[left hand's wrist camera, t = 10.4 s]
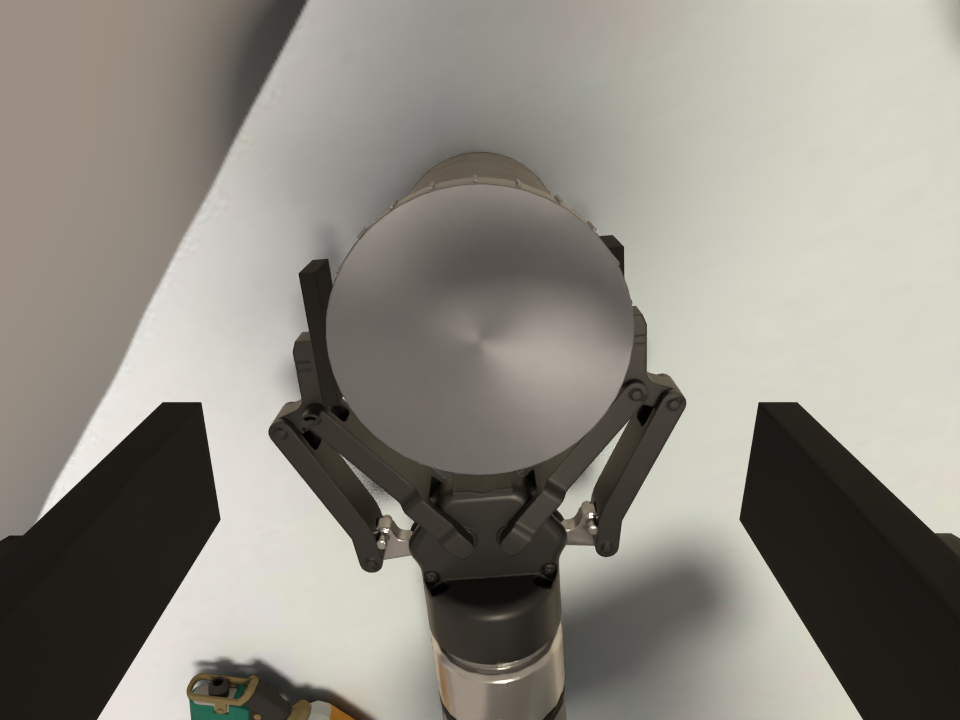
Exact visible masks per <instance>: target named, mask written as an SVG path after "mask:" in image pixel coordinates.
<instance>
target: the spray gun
mask: <svg viewBox="0 0 960 720" xmlns="http://www.w3.org/2000/svg"><path fill="white" fill-rule="evenodd" d="M200 680H210V681H211V682H210V683H209V684H202V685H200V686H198V687H196V688H195V689H193V687H194V685H195V684H196V683H197V682H198V681H200ZM258 681H259V679H258V678H257V677H256V676H254V675H252V676H250V677H249V678H248V679H246V678H238V677H230V676H222V675H214V674H206V673H202V674H198V675H196V676H194V677H193V678H192V680H191V681H190V683H189V685H188V687H187V696H188V698H189V701H190V712H191V720H355V719H353V718H352V717H350V716H349V715H347V714H345V713H344V712H342V711H341V710H339V709H338V708H336V707H335V706H333V705H331V704H330V703H326V702H322V701H318V700H317V701H315V702H312V703H309V702H307V701H306V700H300V701H298V702H297V703H296V704H295V705H293V706H291V705H290V704H289V703H288V702H287V701H286V700H285V699H283V698H282V697H281V696H279V695H278V694H277V693H275V692H274V691H273V690H271V689H270V688H269V687H267V686H266V685H265V684H263V683H262V682H261V681H259V682H258ZM236 684H243V685H248V686H247V687H246V688H245V687H244V686H243V685H239V686H238V688H236ZM192 689H193V690H192Z"/></svg>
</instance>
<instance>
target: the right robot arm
mask: <svg viewBox="0 0 960 720" xmlns="http://www.w3.org/2000/svg"><path fill="white" fill-rule="evenodd" d="M599 237H600V238H601V240H602V241H603V242H604V244H605V245H606V246H607V247H608V249H609V250H610V251H611V253H612V254H613V255H614V257H615V258H616V259H617V260H618V261H619V263H620V265H619V267H620V269H621V271H622V274H623V277H624V246H623V245H622V244H621V243H620V242H619V241H618V240H617V239H616V238H615V237H614V236H613V235H609V236H599ZM299 279H300V284H301V290H302V295H303V300H304V306H305V311H306V317H307V322H308V327H309V332H302V333H301V335H300V336H299V337H298V339H297V340H296V341H295V344H294V348H293V356H294V361H295V366H296V370H297V377H298V382H299V387H300V392H301V398H302V399H301V400H299V401H297V402H288V403H286V404H285V405H284V406H283V407H282V409H281V411H280V412H279V414H278V415H277V417H276V418H275V420H274V421H273V423H272V424H271V426H270V428H269V436H270V438H271V440H272V441H273V442H274V443H275V445H276V446H277V447H278V448H279V450H280V451H281V452H282V453H283V455H284V456H285V457H286V458H287V460H288V461H289V462H290V463H291V464H292V466H293V467H294V468H295V469H296V471H297V472H298V473H299V474H300V476H301V477H302V478H303V479H304V481H305V482H306V483H307V484H308V486H309V487H310V488H311V489H312V490H313V492H314V493H315V494H316V495H317V497H318V498H319V499H320V500H321V502H322V503H323V504H324V505H325V507H326V508H327V509H328V510H329V512H330V513H331V514H332V515H333V516H334V518H335V519H336V520H337V521H338V523H339V524H340V525H341V526H342V528H343V529H344V530H345V531H346V533H347V534H348V535H349V536H350V538H351V539H352V541H353V544H354V547H355V550H356V554H357V557H358V560H359V563H360V566H361V567H362V569H363V570H365V571H367V572H377V571H379V570H380V569H381V567H382V565H383V560H386V559H392V558H398V557H404V556H410V555H412V557H413V558H414V559H415V560H416V561H417V563H418V564H419V566H420V568H421V570H422V575H423V582H424V589H425V596H426V604H427V611H428V618H429V625H430V629H431V632H432V638H431V641H432V647H433V654H434V660H435V667H436V673H437V680H438V686H439V694H440V699H441V704H442V711H443V720H566V708H565V696H564V690H565V687H564V681H565V669H564V651H563V634H562V624H561V595H560V575H559V557H560V554H561V552H562V550H563V549H564V547H565V545H589V546H595V549H596V552H597V553H598V554H599V555H600V556H603V557H610V556H612V555H614V554H615V553H616V552H617V551H618V548H619V540H620V532H621V524H622V520H623V518H624V516H625V514H626V513H627V511H628V509H629V507H630V505H631V504H632V502H633V500H634V498H635V497H636V495H637V493H638V491H639V489H640V488H641V486H642V484H643V482H644V480H645V479H646V477H647V475H648V473H649V472H650V470H651V468H652V466H653V464H654V463H655V461H656V459H657V457H658V455H659V454H660V452H661V450H662V448H663V447H664V445H665V443H666V441H667V439H668V438H669V436H670V434H671V432H672V430H673V429H674V427H675V425H676V423H677V422H678V420H679V418H680V416H681V414H682V413H683V411H684V409H685V406H686V399H685V397H684V396H683V394H682V393H681V391H680V390H679V388H678V387H677V386H676V384H675V383H674V381H673V380H672V378H671V377H670V376H669V375H667V374H657V375H656V374H652V373H649V372H647V345H646V344H647V324H646V321H645V319H644V317H643V315H642V313H641V312H640V311H639V309H638V308H637V307H636V306H632V308H633V319H634V340H633V349H632V354H631V360H630V364H629V367H628V371H627V374H626V377H625V380H624V382H623V384H622V386H621V388H620V390H619V393H618V395H617V397H616V399H615V400H614V402H613V403H612V405H611V406H610V408H609V409H608V411H607V412H606V414H605V415H604V416H603V417H602V418H601V420H600V421H599V422H598V423H597V424H596V426H595V427H594V428H593V429H592V430H591V431H590V432H588V433H587V434H586V435H585V436H584V437H583V438H582V439H581V440H580V441H578V442H577V443H575V444H574V445H573V446H571V447H570V448H568V449H567V450H565V451H564V452H562V453H560V454H558V455H557V456H555V457H553V458H551V459H549V460H547V461H544V462H542V463H539V464H537V465H534V466H532V467H529V468H528V469H527V470H526V471H525V472H524V474H523V475H521V474H518V473H515V472H512V473H511V472H508V473H501V474H492V475H469V474H457V473H453V476H452V477H450V478H447V479H446V480H444V479H443V478H441V477H440V476H439V475H438V474H437V473H436V472H434V471H433V470H432V469H431V468H430V467H428V466H426V465H421V464H419V463H418V462H416V461H413V460H411V459H409V458H407V457H405V456H403V455H401V454H400V453H398V452H396V451H395V450H393V449H392V448H390V447H388V446H387V445H386V444H385V443H383V442H382V441H381V440H380V439H378V438H377V437H376V436H374V435H373V434H372V433H371V432H370V431H369V430H368V428H367V427H366V426H365V425H364V424H363V423H362V422H361V421H360V420H359V419H358V417H357V416H356V415H355V413H354V412H353V411H352V410H351V408H350V407H349V405H348V403H347V402H346V401H345V400H343V399H342V397H343V395H342V393H341V391H340V389H339V386H338V384H337V382H336V379H335V377H334V375H333V371H332V367H331V364H330V360H329V356H328V349H327V341H326V316H327V309H328V303H329V298H330V294H331V291H332V288H333V285H332V279H331V273H330V267H329V261H328V259H320V260H312V261H311V262H310V263H309V264H308V265H307V266H306V267H305V268H304V269H303V270H302V271H301V272H300V273H299ZM628 421H629V422H628ZM627 422H628V424H627V426H626V428H625V430H624V432H623V433H622V435H621V437H620V439H619V441H618V443H617V445H616V447H615V448H614V450H613V452H612V454H611V456H610V458H609V460H608V462H607V464H606V465H605V467H604V469H603V471H602V473H601V475H600V477H599V479H598V480H597V483H596V485H595V487H594V490H593V493H592V497H591V502H590V501H585V502H583V503H582V505H581V507H580V508H579V510H578V512H577V514H576V515H575V517H573V518H571V519H567V520H564V518H563V516H562V515H561V514H560V512H559V511H558V510H557V508H558V507H559V506H560V505H561V503H562V502H563V500H564V497H565V494H566V492H567V490H568V489H569V488H570V487H571V485H572V484H573V483H574V482H575V481H576V480H577V479H578V478H579V476H580V475H581V474H582V473H583V472H584V471H585V470H586V468H587V467H588V466H589V465H590V464H591V463H592V462H593V460H594V459H595V458H596V457H597V456H598V455H599V454H600V453H601V451H602V450H603V449H604V448H605V447H606V446H607V445H608V443H609V442H610V441H611V440H612V439H613V438H614V437H615V435H616V434H617V433H618V432H619V431H620V430H621V429H622V428H623V426H624V425H625V424H626V423H627ZM339 453H340V454H341V455H342V456H343V457H344V458H346V459H347V460H348V461H349V462H351V463H352V464H353V465H354V466H355V467H357V468H358V469H359V470H360V471H361V472H363V473H364V474H365V475H366V476H368V477H369V478H370V479H371V480H372V481H374V482H375V483H376V484H377V485H379V486H380V487H381V488H382V489H383V490H385V491H386V492H387V493H388V494H390V495H391V496H392V497H393V498H394V499H396V500H397V501H398V502H399V503H400V504H401V507H402V509H403V511H404V512H405V514H406V515H407V516H408V517H410V518H411V519H412V520H413V521H415V522H414V524H413V525H412V527H411V530H402V529H400V528H399V527H398V526H397V525H396V524H395V522H394V521H393V520H392V517H391V516H390V515H384V516H382V513H381V510H380V508H379V506H378V504H377V503H376V501H375V500H374V498H373V497H372V495H371V494H370V493H369V492H368V490H367V489H366V488H365V486H364V485H363V484H362V483H361V481H360V480H359V479H358V477H357V476H356V475H355V474H354V472H353V471H352V470H351V468H350V467H349V466H348V464H347V463H346V462H345V461H344V459H343V458H342V457H341V455H340V454H339Z"/></svg>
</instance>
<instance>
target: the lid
mask: <svg viewBox="0 0 960 720" xmlns="http://www.w3.org/2000/svg"><path fill="white" fill-rule="evenodd" d="M596 230H597V229H596V228H595V227H594V226H593V225H592V224H591V223H590V221H587V223H586V222H585V221H584V220H583V219H582V218H581V217H580V216H579V215H578V214H577V213H576V212H575V211H574V210H572V209H571V208H570V207H568V206H567V205H566V204H564V203H563V201H562V200H561V199H560V198H559V196H557V195H555V197H553V196H551V195H549V194H547V193H546V192H544V191H542V190H539V189H536V188H534V187H531V186H528V185H526V184H523V183H521V182H520V180H519V179H516V182H514V181H510V180H506V179H497V178H487V177H478V178H477V175H473V178H461V179H456V180H450V181H444V182H441V183H438V184H435V182H431V184H430V185H429V187H425V188H423V189H421V190H419V191H417V192H415V193H413V194H411V195H408V196H406V197H405V198H403V199H402V200H400V201H399V202H397V200H395V201H393V203H392V204H391V205H390V206H389V209H388V210H386V211H385V212H384V213H383V214H382V215H381V216H380V217H378V218H377V219H376V220H375V221H374V222H373V224H372V225H371V226H370V227H369V228H368V229H367V228H364V229H363V230H362V232H361V233H360V234H359V235H358V236H357V237H358V238H359V240H358V241H357V242H356V243H355V244H354V246H353V247H352V249H351V250H350V252H349V253H348V255H347V257H346V258H345V260H344V261H343V263H342V265H341V266H340V267H339V269H338V270H337V272H336V273H337V276H336V278H335V281H334V284H333V288H332V291H331V294H330V298H329V303H328V309H327V316H326V341H327V349H328V356H329V360H330V364H331V367H332V371H333V375H334V377H335V379H336V382H337V384H338V386H339V389H340V391H341V393H342V395H343V396H344V398H345V400H346V402H347V403H348V405H349V407H350V408H351V410H352V411H353V412H354V413H355V415H356V416H357V417H358V419H359V420H360V421H361V422H362V423H363V424H364V425H365V426H366V427H367V428H368V430H369V431H370V432H371V433H372V434H373V435H374V436H376V437H377V438H378V439H380V440H381V441H382V442H383V443H385V444H386V445H387V446H388V447H390V448H392V449H393V450H395V451H396V452H398V453H400V454H401V455H403V456H405V457H407V458H409V459H411V460H413V461H416V462H418V463H420V464H422V465H426V466H429V467H432V468H435V469H438V470H442V471H447V472H452V473H457V474H469V475H492V474H501V473H508V472H514V471H518V470H521V469H525V468H529V467H532V466H534V465H537V464H539V463H542V462H544V461H547V460H549V459H551V458H553V457H555V456H557V455H558V454H560V453H562V452H564V451H565V450H567V449H568V448H570V447H571V446H573V445H574V444H575V443H577V442H578V441H580V440H581V439H582V438H583V437H584V436H585V435H586V434H587V433H588V432H590V431H591V430H592V429H593V428H594V427H595V426H596V424H597V423H598V422H599V421H600V420H601V418H602V417H603V416H604V415H605V414H606V412H607V411H608V409H609V408H610V406H611V405H612V403H613V402H614V400H615V399H616V397H617V395H618V393H619V390H620V388H621V386H622V384H623V382H624V380H625V377H626V374H627V371H628V367H629V364H630V360H631V354H632V349H633V340H634V319H633V308H632V300H631V299H630V295H629V290H628V287H627V284H626V282H625V279H624V277H623V274H622V271H621V269H620V267H619V265H620V263H619V261H618V260H617V259H616V258H615V257H614V255H613V254H612V253H611V251H610V250H609V249H608V247H607V246H606V245H605V244H604V242H603V241H602V240H601V238H600V237H599V236H598V235H597V233H596V232H595V231H596Z"/></svg>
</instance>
